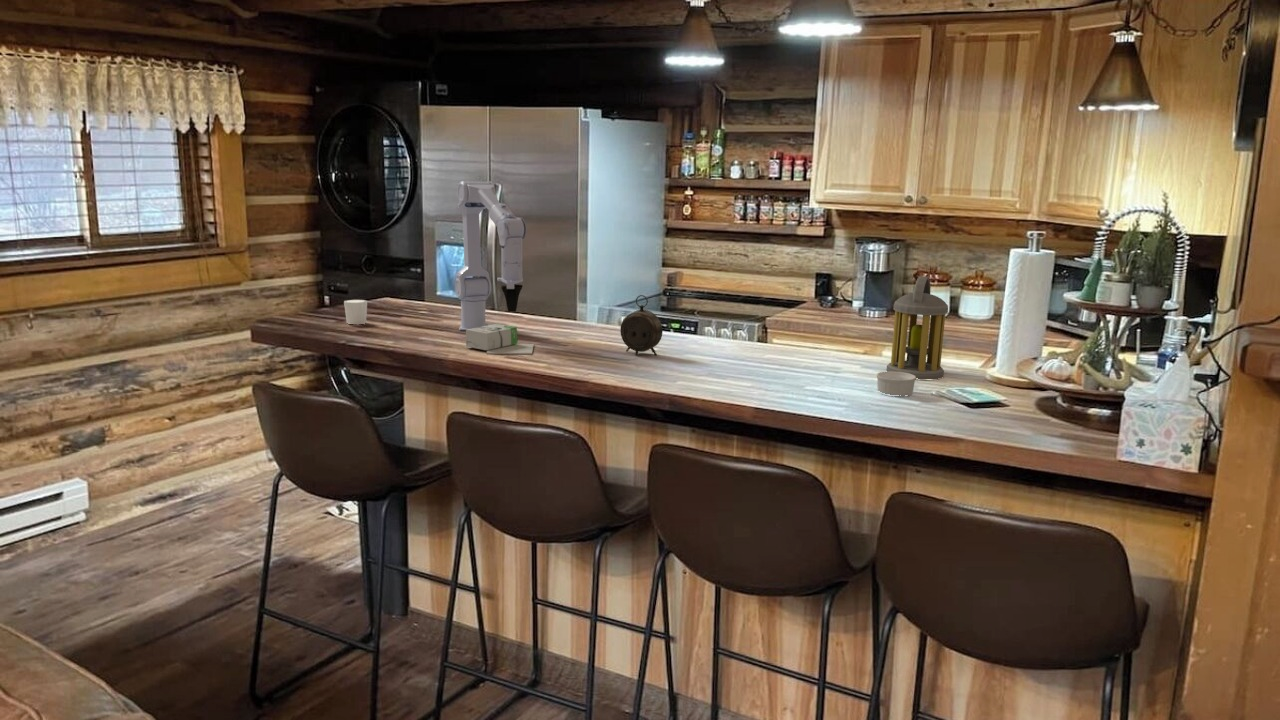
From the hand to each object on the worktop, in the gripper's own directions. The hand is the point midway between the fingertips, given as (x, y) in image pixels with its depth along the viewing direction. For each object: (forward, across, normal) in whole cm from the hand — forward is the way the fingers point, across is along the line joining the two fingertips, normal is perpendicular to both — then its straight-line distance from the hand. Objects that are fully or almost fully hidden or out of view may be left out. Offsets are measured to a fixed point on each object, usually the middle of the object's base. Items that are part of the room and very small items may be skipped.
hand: (512, 311), depth 264 cm
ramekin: (+10, +52, +92) cm, 106 cm away
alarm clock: (+10, +12, +35) cm, 38 cm away
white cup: (+10, -30, -49) cm, 58 cm away
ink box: (+6, -1, -2) cm, 7 cm away
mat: (+9, +7, 0) cm, 12 cm away
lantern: (+10, +32, +104) cm, 109 cm away
